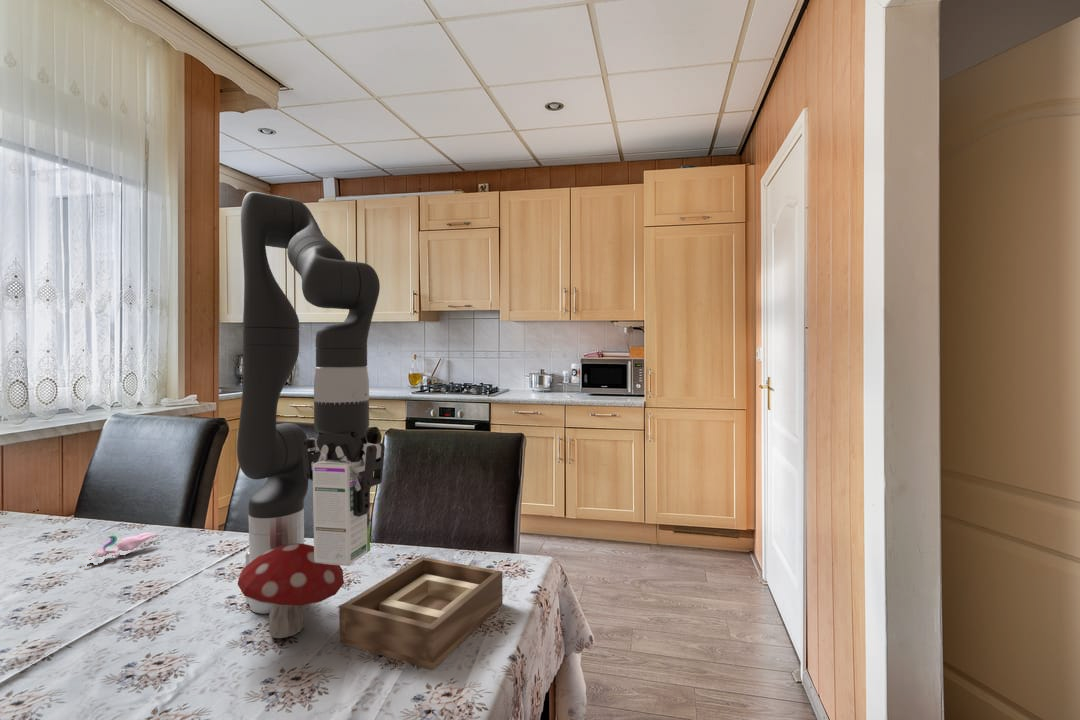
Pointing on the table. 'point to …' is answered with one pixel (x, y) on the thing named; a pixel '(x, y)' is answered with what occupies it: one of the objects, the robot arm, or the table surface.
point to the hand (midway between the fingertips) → (342, 511)
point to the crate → (421, 611)
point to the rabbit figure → (123, 544)
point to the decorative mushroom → (289, 584)
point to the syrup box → (337, 515)
